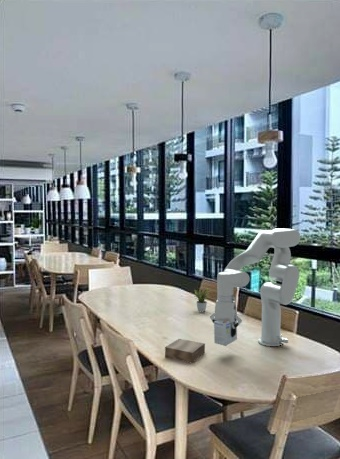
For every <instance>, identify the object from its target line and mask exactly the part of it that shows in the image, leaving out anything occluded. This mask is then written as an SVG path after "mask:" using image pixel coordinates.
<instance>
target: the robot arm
mask: <svg viewBox="0 0 340 459" xmlns="http://www.w3.org/2000/svg"><path fill="white" fill-rule="evenodd" d="M300 242H301V233H300V232H299V231H298V230H297V229H294V228H292V229H291V228H279V227H278V228H272V229H271V230H270V229H268V230H267V229H265V230H264V229H262V230H260V231H259V232H258V233H257V235H256V236H255V238H253V240H252V241H251V243H250V244H249V245H248V247H247V249H246V250H245V251H243V252H241V253H240V254H238V255H237V256H235V257H234V258H232V259H231V260H230V261H229V263H227V266H226V267H225V268H224V270H223V271H220V272H218V273H217V275H216V276H217V278H216V282H217V283H216V284H217V286H216V287H217V288H216V289H217V290H216V291H217V292H216V293H217V294H216V295H217V300H216V301H215V304H214V305H215V306H214V312H213V313H212V314H210V316H209V318H210V320H211V322H212V323H213V324H214V321H217V320H222V321H229V322H230V323H231V326H232V329H231V336H232V337H234V336H235V335H236V327H237V328H238V326H240V325H241V323H243V319H241V318H240V317H239V315H238V310H237V305H236V304H237V303H236V300H237V297H236V296H234V288H242V287H246V286H247V285H248V284H249V282H250V280H251V279H250V275H249V274H248V273H247V272H246V271H244V270H241V269H242V268H244V267H247V266H249V265H253V264H256V263H258V262H261V261H262V259H263V257H264V256H265V254H266V253H267V252H268V250H269V249H270V248H273V249H274V251H273V252H274V253H273V258H272V261H271V265H270V267H269V272H268V276H269V278H270V279H271V280H273V281H277V282H280V283H282V284H280V283H277V282H273V281H268V282H264V283H263V284H262V285H261V287H260V289H259V290H260V298H261V330H260V331H261V332H260V333H261V334H260V335H261V336H260V337H259V338H258V339H257V342H258V344H260V345H262V346H265V345H266V346H265V347H270V346H278V347H280V346H279V345H281V346H283V345H284V344H289V338H287V337H283V336H282V335H283V334H282V333H281V323H282V322H281V320H282V316H281V315H282V310H281V309H282V308H281V305H289V304H290V303H291V302H292V301H293V300H294V297H295V294H296V290H297V287H298V283H299V281H300V280H299V279H300V270H299V268H298V267H297V266H296V265H295V264H290V262H291V256H292V254H291V249H290V248H291V247H295V246H297V245H299V243H300ZM234 320H235V321H237V323H235V321H234ZM282 344H283V345H282Z"/></svg>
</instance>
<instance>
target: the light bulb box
mask: <svg viewBox="0 0 340 459" xmlns="http://www.w3.org/2000/svg"><path fill="white" fill-rule="evenodd" d="M234 321H235V320H234ZM237 322H238V321H235V323H237ZM213 327H214V329H213V330H214V331H213V333H214V334H213V335H214V338H213V339H214V344H216V345H220V346H224V347H226V346H229V345H230V344H232V343H233V342H236V341H237V340H238V326H237V327H236V335H235V336H234V337H232V336H231V329H232V326H231V323H230V322H229V321H222V320H217V321H214V323H213Z"/></svg>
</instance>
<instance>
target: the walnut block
mask: <svg viewBox="0 0 340 459" xmlns="http://www.w3.org/2000/svg"><path fill="white" fill-rule="evenodd" d="M205 348H206V343H204V342H199V341H194V340H188V339H183V338H178V339H176V340H175V341H173V342H171V343H169V344H168V345H166V346H165V347H164V357H165V358H167V359H173V360H177V361H182V362H185V363H187V362H188V363H190V362H191V363H194V362H195V361H197V360H198V359H199V358H201V357H202V356H203V355H204V354H205V353H206V352H205V350H206V349H205Z"/></svg>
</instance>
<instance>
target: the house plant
mask: <svg viewBox="0 0 340 459" xmlns="http://www.w3.org/2000/svg"><path fill="white" fill-rule="evenodd" d="M198 289H199V291H200V293H199V291H198V290H196V289H195V288H194V289H193V290H194V294H195V295H194V297H195V298H196V299H197V301H196V308H197V312H199V311H205V312H206V310H207V305H208V301H206V300H209V296H208V294H209V293H210V292H212V291H213V289H212V290H208V289H209V287H207V288H205V289H204V291H203V288H201V287H200V288H198Z"/></svg>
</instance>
